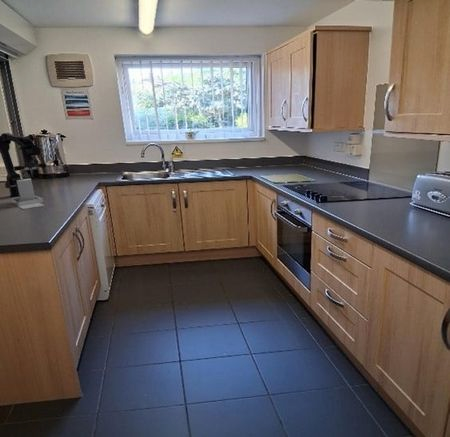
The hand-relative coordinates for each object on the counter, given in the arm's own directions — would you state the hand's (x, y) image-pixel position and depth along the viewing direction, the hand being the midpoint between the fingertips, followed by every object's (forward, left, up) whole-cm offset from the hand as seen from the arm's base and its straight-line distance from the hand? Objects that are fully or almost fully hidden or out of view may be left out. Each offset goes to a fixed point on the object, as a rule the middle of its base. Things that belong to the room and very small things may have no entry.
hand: (32, 179), depth 238 cm
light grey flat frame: (+10, -5, -12) cm, 17 cm away
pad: (+27, -2, -12) cm, 29 cm away
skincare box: (+14, -4, -13) cm, 19 cm away
